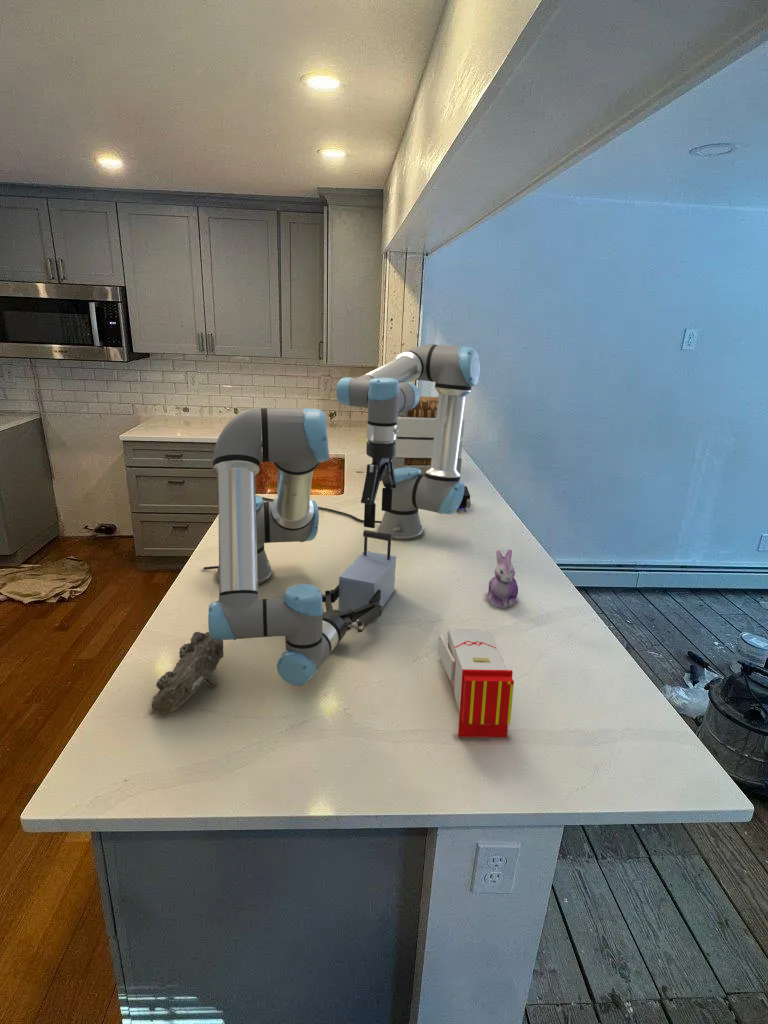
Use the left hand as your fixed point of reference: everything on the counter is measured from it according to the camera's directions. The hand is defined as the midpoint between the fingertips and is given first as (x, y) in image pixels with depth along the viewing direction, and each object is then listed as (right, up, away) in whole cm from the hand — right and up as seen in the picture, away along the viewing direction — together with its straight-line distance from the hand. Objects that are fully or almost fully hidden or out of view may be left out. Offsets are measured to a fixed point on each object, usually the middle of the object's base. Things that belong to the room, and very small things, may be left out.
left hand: (360, 590), depth 146 cm
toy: (+24, -17, -27) cm, 40 cm away
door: (+2, +5, +4) cm, 7 cm away
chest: (+2, -4, +7) cm, 8 cm away
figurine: (+39, -4, +10) cm, 40 cm away
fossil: (-33, -15, -29) cm, 46 cm away
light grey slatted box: (+23, +39, +129) cm, 137 cm away
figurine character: (+37, +22, +83) cm, 94 cm away
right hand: (+4, +18, +5) cm, 20 cm away
